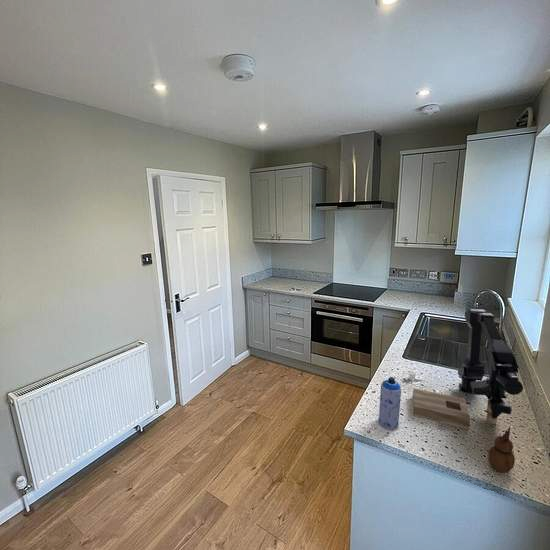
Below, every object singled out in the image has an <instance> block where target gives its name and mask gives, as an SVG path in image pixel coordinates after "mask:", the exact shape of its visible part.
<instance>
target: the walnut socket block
mask: <svg viewBox="0 0 550 550" xmlns="http://www.w3.org/2000/svg"><path fill="white" fill-rule="evenodd" d="M412 416H413V417H417V418H421V419H424V420H429V421H433V422H437V423H442V424H445V425H450V426H454V427H456V428H457V427H458V428H461V429H466V430H470V427H471V426H470V425H471V416H470V413H469V409H468V405H467V402H466V399H465V398H463V397H457V396H452V395H447V394H443V393H438V392H433V391H429V390H423V389H420V388H414V387H413V390H412Z"/></svg>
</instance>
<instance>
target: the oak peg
mask: <svg viewBox="0 0 550 550" xmlns="http://www.w3.org/2000/svg"><path fill="white" fill-rule="evenodd" d="M491 399H492V398H490V399H488V398H487V401H488V402H489V400H491ZM488 402H487V406H486V419H485V420H486V421H487V422H488V423H489V424H491V425H497V423H498V417H499V416H498V417H497V418H496V419H495V418H492V410H491V409H490V406H489V404H488ZM487 422H486V423H487Z"/></svg>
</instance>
